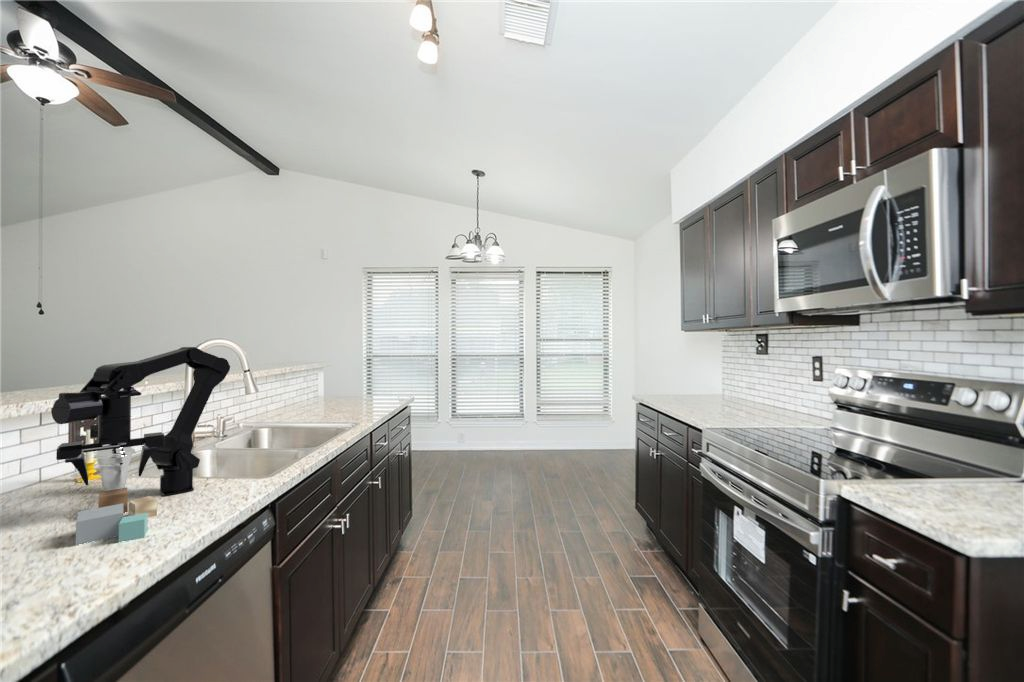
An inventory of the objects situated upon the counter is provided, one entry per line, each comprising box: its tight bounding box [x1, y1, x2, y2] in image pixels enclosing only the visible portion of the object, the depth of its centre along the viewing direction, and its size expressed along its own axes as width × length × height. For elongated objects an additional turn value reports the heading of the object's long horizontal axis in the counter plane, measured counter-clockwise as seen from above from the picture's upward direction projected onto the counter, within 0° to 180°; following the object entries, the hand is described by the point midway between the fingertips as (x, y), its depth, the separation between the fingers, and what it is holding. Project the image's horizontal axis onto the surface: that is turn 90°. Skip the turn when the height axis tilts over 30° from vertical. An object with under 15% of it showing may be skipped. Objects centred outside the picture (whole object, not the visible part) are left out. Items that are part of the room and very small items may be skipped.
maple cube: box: [127, 495, 158, 519], centre depth 97 cm, size 4×4×4 cm
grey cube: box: [75, 503, 124, 546], centre depth 88 cm, size 7×7×5 cm
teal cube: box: [118, 513, 149, 543], centre depth 88 cm, size 4×4×4 cm
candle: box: [76, 429, 101, 481], centre depth 123 cm, size 5×5×16 cm
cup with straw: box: [93, 443, 136, 492], centre depth 115 cm, size 8×9×20 cm
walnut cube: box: [98, 486, 129, 514], centre depth 100 cm, size 5×5×5 cm
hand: (114, 480), depth 100 cm, fingers open, 9 cm apart
